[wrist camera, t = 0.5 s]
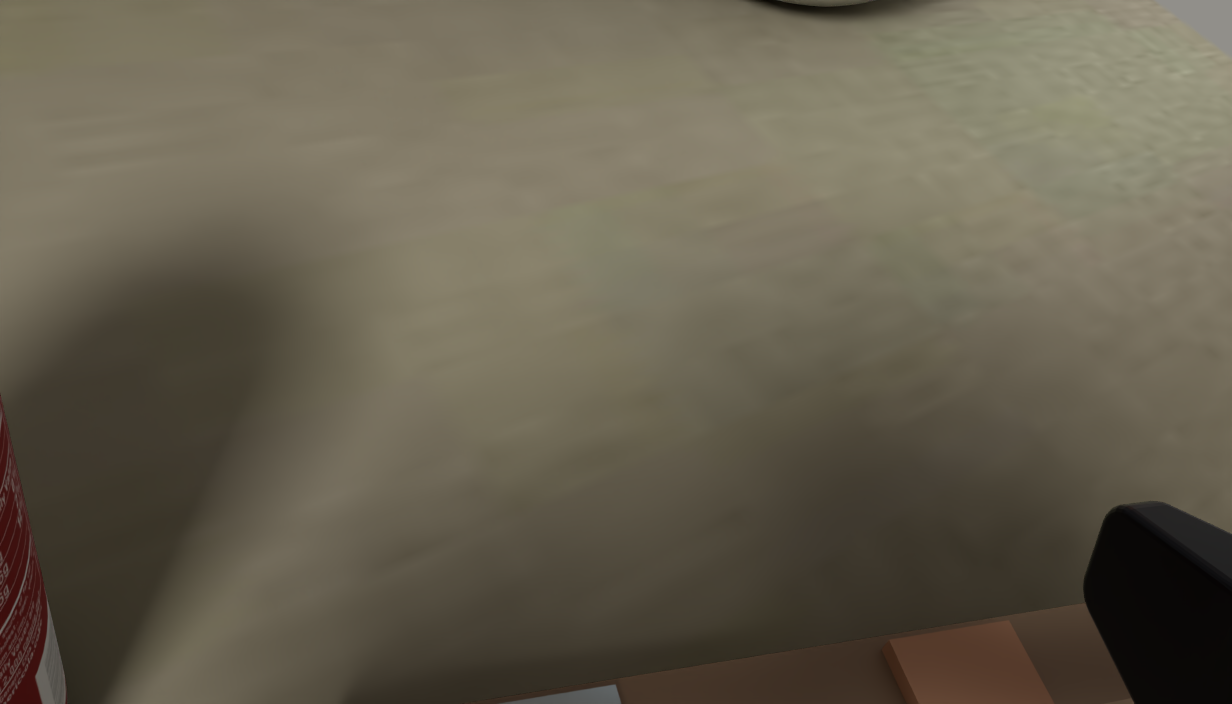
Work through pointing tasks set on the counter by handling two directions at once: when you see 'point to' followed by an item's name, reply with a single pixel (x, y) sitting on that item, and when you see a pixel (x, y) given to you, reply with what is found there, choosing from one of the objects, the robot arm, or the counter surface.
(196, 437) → the counter surface
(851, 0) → the planter
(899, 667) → the socket block
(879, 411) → the counter surface
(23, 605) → the soda can
